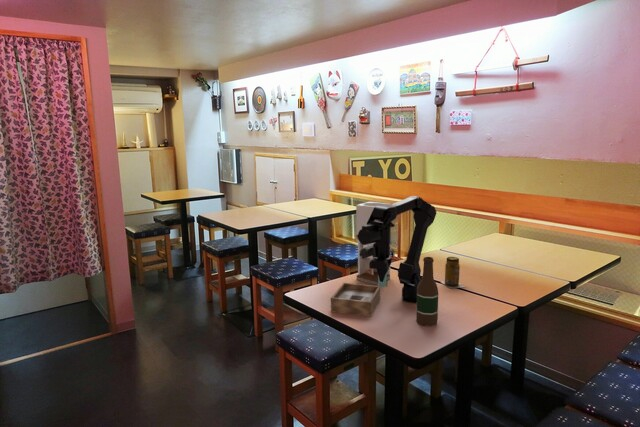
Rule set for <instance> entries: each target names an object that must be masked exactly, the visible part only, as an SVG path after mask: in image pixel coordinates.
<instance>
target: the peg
mask: <svg viewBox="0 0 640 427" xmlns="http://www.w3.org/2000/svg"><path fill="white" fill-rule="evenodd" d="M387 282H388V280H387V273H386V275H385V278H384V280H383V282H380V280H379V276H378V285H377V286H380V288H385V287H387V284H388V283H387Z"/></svg>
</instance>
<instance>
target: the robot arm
mask: <svg viewBox="0 0 640 427" xmlns="http://www.w3.org/2000/svg"><path fill="white" fill-rule="evenodd" d="M390 204H391V205H379V206H376V207H374V210H373V211H372V213H371V215H370V218H369V220H368V222H367V225H364V226H362V229H361V230H360V231H359V233H358V240H359V242H360V243H361V244H363V245H367V244H371V243H374V244H373V245H372V246H368V247H365V248H362V249H361V250H360V251H359V252H360V254H359V255H360V256H361V257H362V259H364V258H366V257H370V256H373V257H374V258H373V259H372V260H371V261H370V263H369V268H372V269H377V272H378V276H379V280H380V282H383V280H384V278H385V275H386V273H387V272H388V270H389V267H390V268H391V265H392V263H393V261H394V260H393V259H392V258H394V257H395V256H396V254H395V253H396V251H395V250H394V249H393V248H391V249H390V245H391V246H392V241H391V238H392V237H391V235H392V234H391V231H392V228H394V227H395V224H394V223H393V221H395V220H396V219H397V217H398V216H399V215H401V214H403V213H406V212H408V211H411V212H412V213H413V216H412V217H413V221H414V228H413V233H412V237H411V240H410V244H409V247H408V253H407V255H406V259H405V260H404V261H403V262H401V261H400V263H399V266H398V270H397V277H398V281H399V283H400V284H402V285H403V286H402V288H401V298H402V302H406V303H407V302H408V303H409V302H411V303H417V286H418V284H419V282H420V281H421V279H422V276H421V272H422V270H421V266H420V259H421V255H422V251H423V248H424V243H425V240H426V236H427V231H428V228H429V227H430V226H431V225H432V224H433V223H434V222H435V218H436V217H437V210H436V207H435V206H434V205H432V204H430V203H429V202H427V201H425V200H424V199H423V198H422V197H421V196H415V195H410V196H407V198H404V199H402V200H399V201H396V202H394V203H390ZM376 221H379V222H376ZM381 222H383V223H381ZM376 257H377V258H376ZM391 257H392V258H391ZM389 258H390V259H389Z"/></svg>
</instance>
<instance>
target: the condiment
mask: <svg viewBox="0 0 640 427" xmlns="http://www.w3.org/2000/svg"><path fill="white" fill-rule="evenodd" d="M460 268H461V266H460V258H459V257H456V256H448V257H447V258H446V262H445V267H444V281H440V283H441V284H443V285H444V286H445V287H446V288H448V289H459V288H465V285H463V284H461V283H460V270H461V269H460Z"/></svg>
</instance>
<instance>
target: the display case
mask: <svg viewBox="0 0 640 427" xmlns="http://www.w3.org/2000/svg"><path fill="white" fill-rule="evenodd" d="M391 204H392V203H387V202H386V203H384V202H378V201H377V202H376V201H367V202H366V201H365V202H362V203H359V204H356V206H355V210H356V211H355V212H356V214H355V215H356V216H355V217H356V221H355V223H356V224H355V225H356V226H355V227H356V230H355V231H356V238H355V239H356V243H357V269H358V270H357V274H356V280H357V281H361V282H366V283H368V284H374V285H375V286H378V272H377V269H372V268H369V263H370V261H371V260H372V259H373V258H374V257H373V256H370V257H366V258H364V259H362V257H361V256H360V255H359V254H360V252H359V251H360V250H361V249H362V248H365V247H368V246H372V245H373V244H374V243H371V244H367V245H363V244H361V243H360V242H359V240H358V233H359V231H360V230H361V229H362V226H364V225H367V222H368V220H369V218H370V215H371V213H372V211H373V210H374V207H376V206H379V205H391ZM376 222H379V221H376ZM381 223H383V222H381ZM391 247H392V244H391V245H390V249H392V248H391ZM376 258H377V257H376ZM389 259H391V257H390V258H389ZM388 280H391V266H390V267H389V270H388V272H387V281H388Z"/></svg>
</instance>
